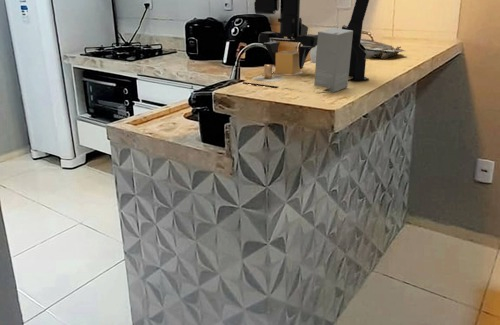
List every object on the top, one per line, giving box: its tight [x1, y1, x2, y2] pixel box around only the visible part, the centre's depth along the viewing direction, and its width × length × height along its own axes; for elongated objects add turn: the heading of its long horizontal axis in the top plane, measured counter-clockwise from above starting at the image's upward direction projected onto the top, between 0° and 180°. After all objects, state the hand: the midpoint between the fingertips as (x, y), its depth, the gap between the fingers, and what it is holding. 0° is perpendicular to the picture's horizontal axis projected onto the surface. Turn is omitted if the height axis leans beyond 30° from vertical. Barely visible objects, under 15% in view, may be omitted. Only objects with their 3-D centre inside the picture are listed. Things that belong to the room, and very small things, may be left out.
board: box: [242, 70, 304, 89], centre depth 147 cm, size 11×22×1 cm, turn 147°
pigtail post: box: [263, 63, 273, 79], centre depth 141 cm, size 2×2×4 cm
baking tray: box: [361, 38, 405, 60], centre depth 193 cm, size 30×22×5 cm
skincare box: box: [313, 27, 353, 93], centre depth 132 cm, size 8×7×16 cm
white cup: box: [309, 33, 318, 64], centre depth 171 cm, size 8×8×10 cm
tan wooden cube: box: [274, 50, 302, 74], centre depth 150 cm, size 6×6×6 cm
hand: (288, 67), depth 151 cm, fingers open, 8 cm apart
